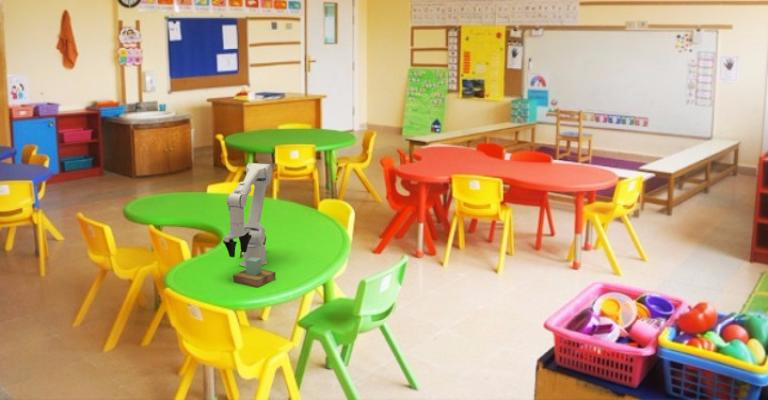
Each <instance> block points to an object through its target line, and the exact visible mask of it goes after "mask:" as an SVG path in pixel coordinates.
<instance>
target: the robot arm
mask: <svg viewBox="0 0 768 400" xmlns="http://www.w3.org/2000/svg"><path fill="white" fill-rule="evenodd" d="M245 172H246V173H245V174H246V175H245V177H244V179H243V181H240V182H239V183H238V184H237V186H236V187H235V189H234V190H233V191H232V192H231V193H229V194H228V195H227V198H226V205H227V211H228V212H229V231H228V234H227V235H225V236H224V237H223V240H222V242H223V244H224V246H225V249H226V250H227V253H228V256H229V258H235V257H236V246H237V243H238V241H235V239H237V238H238V240H239V243H240V244H239V245H240V251H241V252H243V262H242V263H240V264H239V266H240V267H244V268H246V260H247V259H249V258H250V257H255V258H261V267H262V266H264V265H266V264H268V261H267V260H266V258H267V257H266V256H267V253H266V247H265V245H264V244H263V243H264V240H265V235H266V234H265V233H266V228H265V227H264V226H263V225H262V224H261V219H262V214H263V213H262V212H263V206H264V201H265V195H266V190H267V186H270V184H271V181H272V175H273V168H272V165H271V164H270V163H257V162H256V163H255V162H254V163H253V162H248V164H247V165H246V168H245ZM252 185H253V186H254V188H253V193H252V200H251V204H250V210H249V216H248V221H247V222H245V208H246V205H247V201H248V196H249V195H250V193H251V192H252Z"/></svg>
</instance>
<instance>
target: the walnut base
mask: <svg viewBox="0 0 768 400" xmlns="http://www.w3.org/2000/svg"><path fill="white" fill-rule="evenodd" d="M275 280H276V271H272V270H267V269H263V268H261V273H260V274H258V275H257V276H254V275H247V274H246V269H243V270H241V271H239V272H237V273H234V274H233V275H232V282H233V283H236V284H241V285H243V286H244V285H245V286H248V287H252V288H260V287H261V286H264V285H266V284H268V283H270V282H273V281H275Z"/></svg>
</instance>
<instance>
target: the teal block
mask: <svg viewBox="0 0 768 400" xmlns="http://www.w3.org/2000/svg"><path fill="white" fill-rule="evenodd" d="M261 269H262V266H261V258H255V257H250V258H249V259H247V260H246V267H245V270H246V274H247V275H254V276H257V275H258V274H260V273H261Z"/></svg>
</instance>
